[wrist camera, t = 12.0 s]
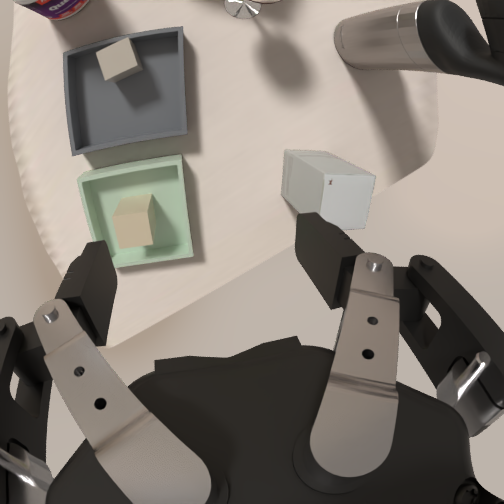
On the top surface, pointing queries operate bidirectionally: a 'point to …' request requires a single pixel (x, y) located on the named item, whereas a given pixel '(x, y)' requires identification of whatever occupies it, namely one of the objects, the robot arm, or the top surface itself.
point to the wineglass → (245, 7)
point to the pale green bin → (132, 184)
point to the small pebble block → (119, 60)
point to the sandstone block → (135, 221)
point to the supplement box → (327, 187)
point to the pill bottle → (54, 7)
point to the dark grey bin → (126, 93)
